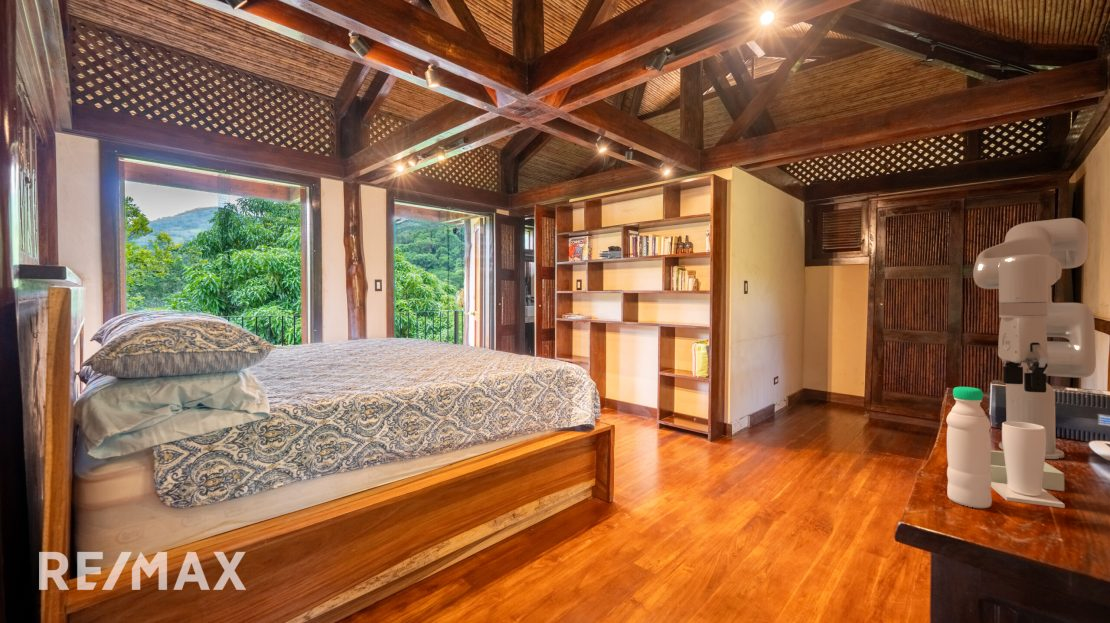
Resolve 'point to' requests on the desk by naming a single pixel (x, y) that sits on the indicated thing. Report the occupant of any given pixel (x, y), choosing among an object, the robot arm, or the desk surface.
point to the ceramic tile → (1042, 499)
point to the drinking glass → (1024, 456)
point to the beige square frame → (1051, 475)
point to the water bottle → (968, 450)
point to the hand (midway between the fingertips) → (1023, 387)
